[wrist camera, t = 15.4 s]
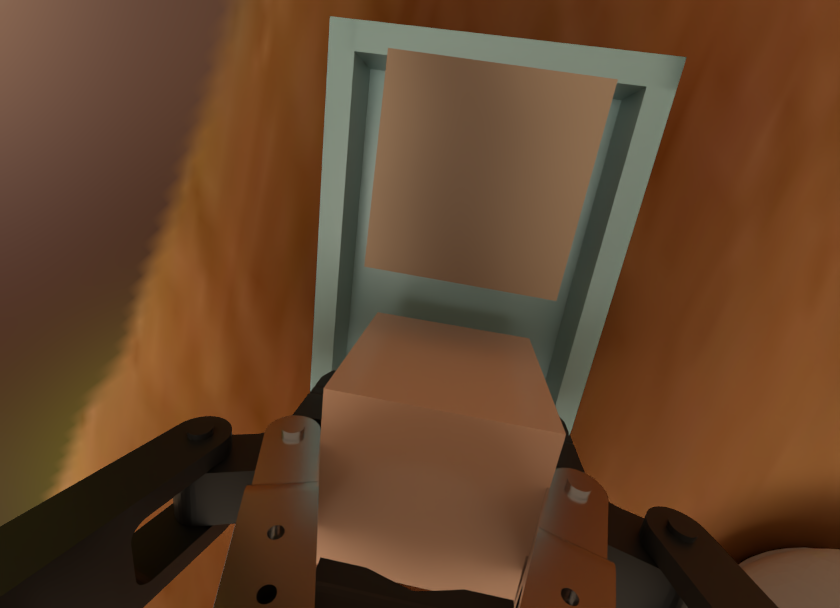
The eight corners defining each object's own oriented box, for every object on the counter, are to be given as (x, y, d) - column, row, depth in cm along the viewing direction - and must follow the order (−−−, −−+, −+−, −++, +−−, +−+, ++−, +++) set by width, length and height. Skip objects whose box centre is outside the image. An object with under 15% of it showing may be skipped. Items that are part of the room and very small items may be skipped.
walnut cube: (563, 117, 13) (618, 79, 8) (528, 262, 14) (556, 300, 10) (417, 95, 13) (387, 47, 9) (397, 239, 15) (364, 266, 10)
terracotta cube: (498, 464, 14) (513, 609, 9) (364, 437, 14) (311, 563, 10) (529, 338, 12) (566, 434, 8) (377, 312, 13) (323, 388, 8)
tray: (646, 80, 13) (686, 57, 10) (541, 450, 18) (552, 492, 15) (354, 45, 14) (330, 16, 11) (328, 409, 18) (307, 443, 16)
